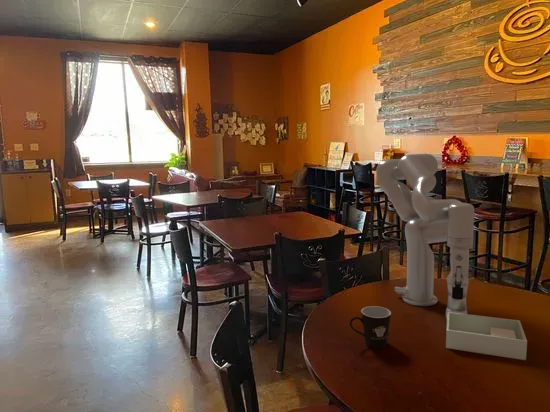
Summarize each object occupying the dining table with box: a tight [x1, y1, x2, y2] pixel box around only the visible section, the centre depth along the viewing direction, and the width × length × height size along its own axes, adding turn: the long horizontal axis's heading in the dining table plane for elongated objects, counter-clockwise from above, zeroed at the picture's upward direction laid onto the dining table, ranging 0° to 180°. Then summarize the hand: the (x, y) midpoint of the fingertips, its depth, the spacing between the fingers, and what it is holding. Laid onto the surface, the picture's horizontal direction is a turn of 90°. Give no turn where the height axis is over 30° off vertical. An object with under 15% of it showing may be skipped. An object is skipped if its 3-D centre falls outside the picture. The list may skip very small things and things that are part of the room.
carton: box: [490, 327, 516, 339], centre depth 120 cm, size 6×5×4 cm
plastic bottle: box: [444, 266, 470, 319], centre depth 136 cm, size 6×7×20 cm
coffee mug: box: [349, 305, 392, 349], centre depth 125 cm, size 12×9×10 cm
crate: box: [445, 312, 528, 361], centre depth 122 cm, size 20×14×6 cm
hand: (457, 294), depth 136 cm, fingers closed on plastic bottle, 6 cm apart
